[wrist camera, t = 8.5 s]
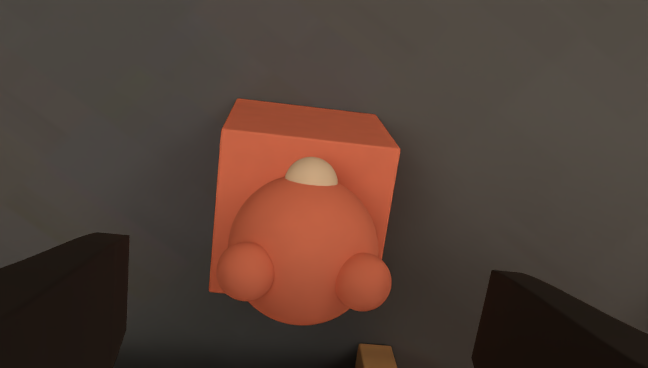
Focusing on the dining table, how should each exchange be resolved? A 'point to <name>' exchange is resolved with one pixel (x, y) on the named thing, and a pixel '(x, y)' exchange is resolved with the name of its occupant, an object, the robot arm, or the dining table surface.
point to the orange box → (302, 210)
